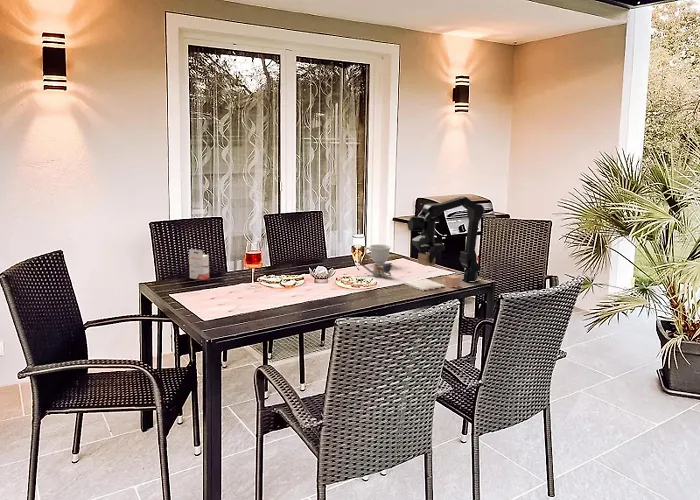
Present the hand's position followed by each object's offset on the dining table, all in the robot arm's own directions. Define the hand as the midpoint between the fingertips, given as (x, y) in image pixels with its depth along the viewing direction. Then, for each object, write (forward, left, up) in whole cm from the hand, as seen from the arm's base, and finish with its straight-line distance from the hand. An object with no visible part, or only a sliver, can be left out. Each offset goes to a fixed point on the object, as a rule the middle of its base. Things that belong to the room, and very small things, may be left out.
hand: (426, 261), depth 287 cm
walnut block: (0, 0, -1) cm, 1 cm away
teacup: (-4, -46, -12) cm, 48 cm away
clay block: (-10, +9, -12) cm, 18 cm away
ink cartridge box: (+93, -61, -12) cm, 112 cm away
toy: (+12, -27, -12) cm, 32 cm away
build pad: (+2, +2, -12) cm, 12 cm away
